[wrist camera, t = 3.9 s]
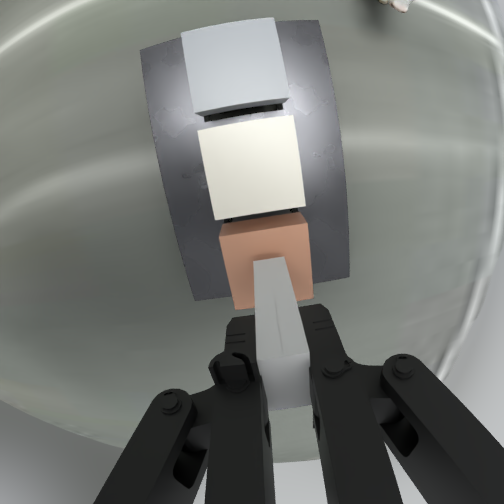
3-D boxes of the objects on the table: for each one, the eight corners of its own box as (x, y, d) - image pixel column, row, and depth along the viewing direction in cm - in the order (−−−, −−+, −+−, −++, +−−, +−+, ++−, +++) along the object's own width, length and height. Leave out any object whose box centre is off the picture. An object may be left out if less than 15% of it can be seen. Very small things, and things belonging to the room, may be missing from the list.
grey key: (198, 58, 15) (180, 32, 10) (266, 47, 14) (273, 17, 10) (208, 119, 17) (194, 113, 12) (278, 108, 16) (290, 97, 12)
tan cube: (226, 210, 19) (218, 236, 14) (292, 200, 19) (307, 223, 14) (238, 269, 21) (235, 309, 16) (299, 260, 21) (313, 298, 16)
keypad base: (153, 60, 16) (139, 50, 14) (309, 34, 16) (318, 20, 13) (200, 281, 24) (194, 300, 21) (338, 260, 23) (349, 277, 20)
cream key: (211, 132, 17) (197, 130, 12) (280, 121, 17) (293, 115, 12) (223, 198, 19) (215, 220, 14) (290, 187, 18) (305, 206, 14)
